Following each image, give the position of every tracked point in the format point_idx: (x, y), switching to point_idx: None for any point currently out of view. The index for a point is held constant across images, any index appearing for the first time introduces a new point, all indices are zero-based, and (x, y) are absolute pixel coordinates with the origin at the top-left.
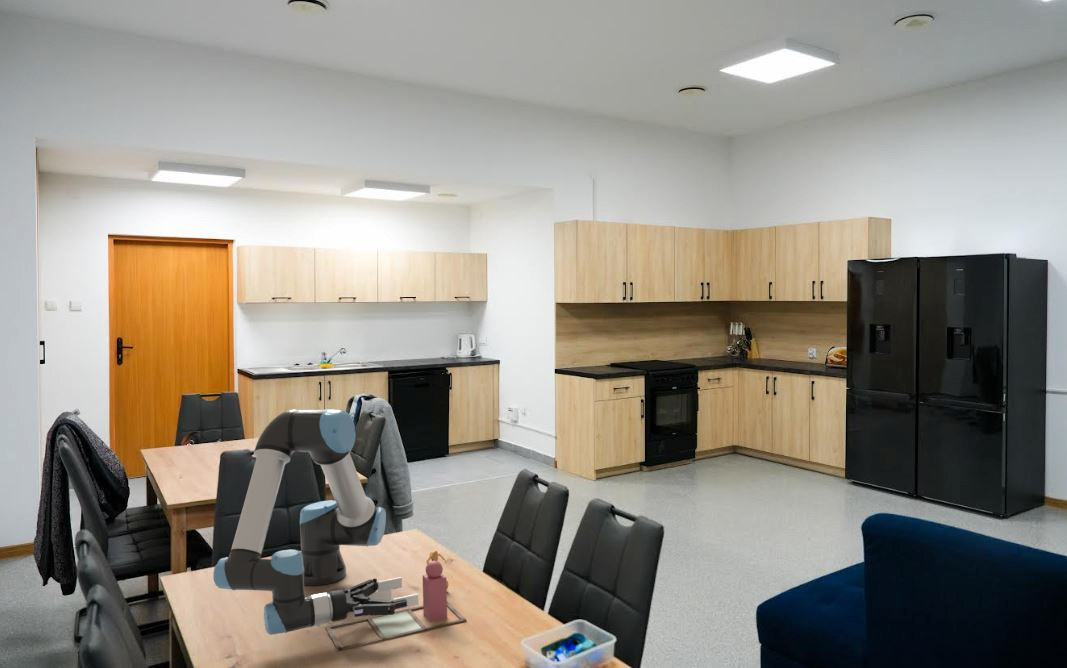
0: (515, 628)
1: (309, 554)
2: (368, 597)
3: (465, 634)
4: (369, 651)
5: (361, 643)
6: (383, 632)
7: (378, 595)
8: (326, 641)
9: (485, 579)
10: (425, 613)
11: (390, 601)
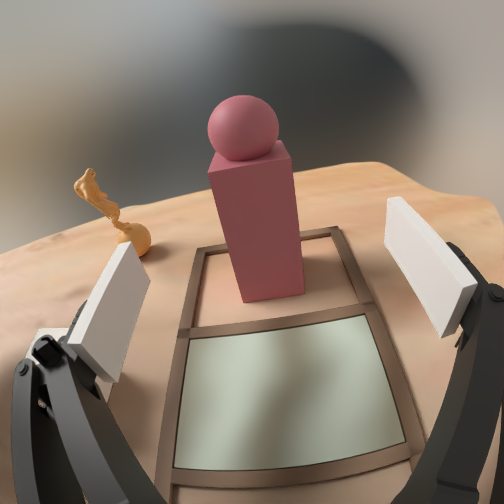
0: (388, 185)
1: None
2: (443, 493)
3: None
4: (492, 483)
5: None
6: (354, 449)
7: None
8: None
9: (156, 203)
10: (261, 292)
11: (497, 303)
